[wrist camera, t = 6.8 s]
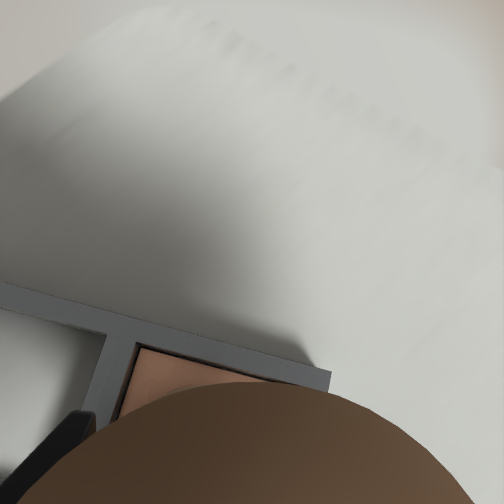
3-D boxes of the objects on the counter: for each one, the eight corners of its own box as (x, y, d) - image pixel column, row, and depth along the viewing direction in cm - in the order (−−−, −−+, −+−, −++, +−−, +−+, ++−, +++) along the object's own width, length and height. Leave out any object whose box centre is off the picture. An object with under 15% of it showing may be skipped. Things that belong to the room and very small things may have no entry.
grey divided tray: (276, 592, 15) (286, 615, 14) (-176, 489, 14) (-216, 501, 13) (319, 372, 17) (331, 371, 16) (-66, 268, 16) (-90, 257, 15)
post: (226, 563, 14) (450, 1416, 2) (96, 496, 14) (-308, 1030, 2) (285, 422, 15) (600, 529, 4) (169, 362, 15) (136, 288, 4)
